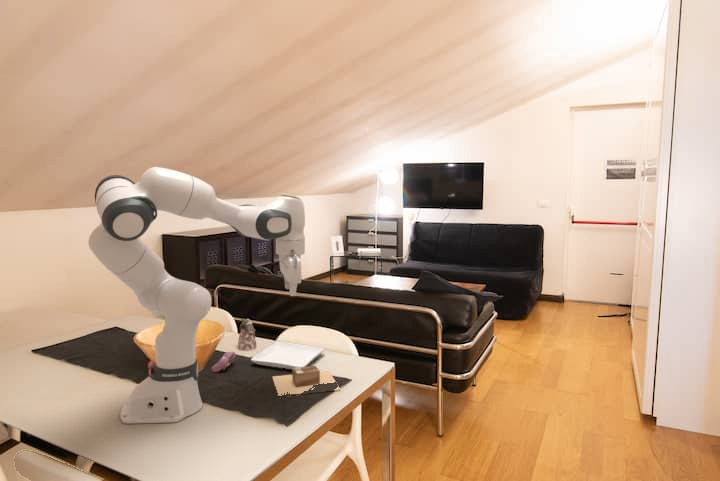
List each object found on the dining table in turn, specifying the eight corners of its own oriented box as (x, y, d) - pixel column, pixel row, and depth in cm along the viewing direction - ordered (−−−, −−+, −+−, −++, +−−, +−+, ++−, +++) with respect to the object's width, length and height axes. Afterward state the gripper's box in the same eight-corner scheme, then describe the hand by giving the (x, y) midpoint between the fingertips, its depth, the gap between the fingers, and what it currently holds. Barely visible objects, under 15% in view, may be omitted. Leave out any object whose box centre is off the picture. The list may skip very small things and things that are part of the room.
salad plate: (303, 375, 181) (303, 366, 180) (249, 367, 187) (249, 358, 187) (325, 355, 201) (325, 347, 200) (276, 349, 207) (276, 340, 207)
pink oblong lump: (220, 377, 181) (229, 361, 180) (209, 371, 182) (217, 354, 180) (232, 367, 191) (240, 351, 189) (221, 361, 191) (229, 345, 190)
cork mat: (278, 397, 162) (278, 395, 162) (272, 377, 178) (272, 376, 178) (340, 390, 168) (340, 389, 168) (329, 372, 183) (329, 371, 183)
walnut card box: (319, 383, 172) (319, 370, 171) (296, 387, 169) (296, 373, 168) (315, 378, 177) (315, 364, 176) (292, 381, 174) (292, 367, 173)
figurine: (247, 352, 202) (247, 322, 201) (234, 348, 206) (233, 319, 204) (260, 347, 208) (259, 318, 207) (246, 343, 212) (246, 315, 211)
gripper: (306, 253, 150) (306, 299, 152) (295, 243, 170) (295, 284, 172) (285, 253, 149) (285, 300, 150) (275, 243, 168) (276, 285, 170)
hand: (290, 292), depth 161 cm, fingers open, 8 cm apart
